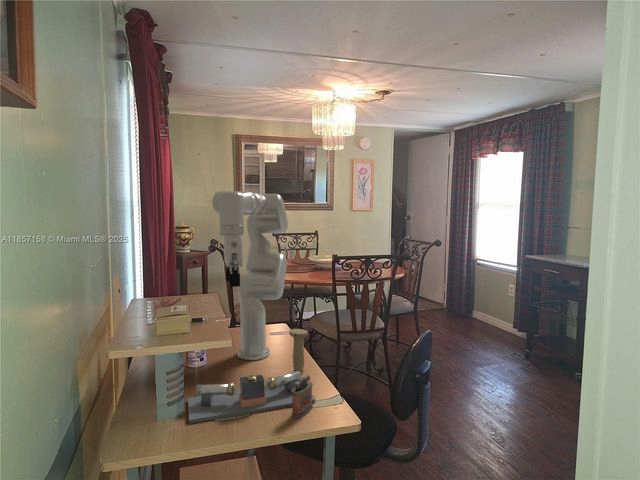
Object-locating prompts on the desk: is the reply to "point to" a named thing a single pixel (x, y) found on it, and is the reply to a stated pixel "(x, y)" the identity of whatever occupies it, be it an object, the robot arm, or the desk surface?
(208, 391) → the shaft
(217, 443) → the desk surface
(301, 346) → the handle
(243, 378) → the block
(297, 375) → the shaft
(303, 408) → the lighter
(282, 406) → the base plate
